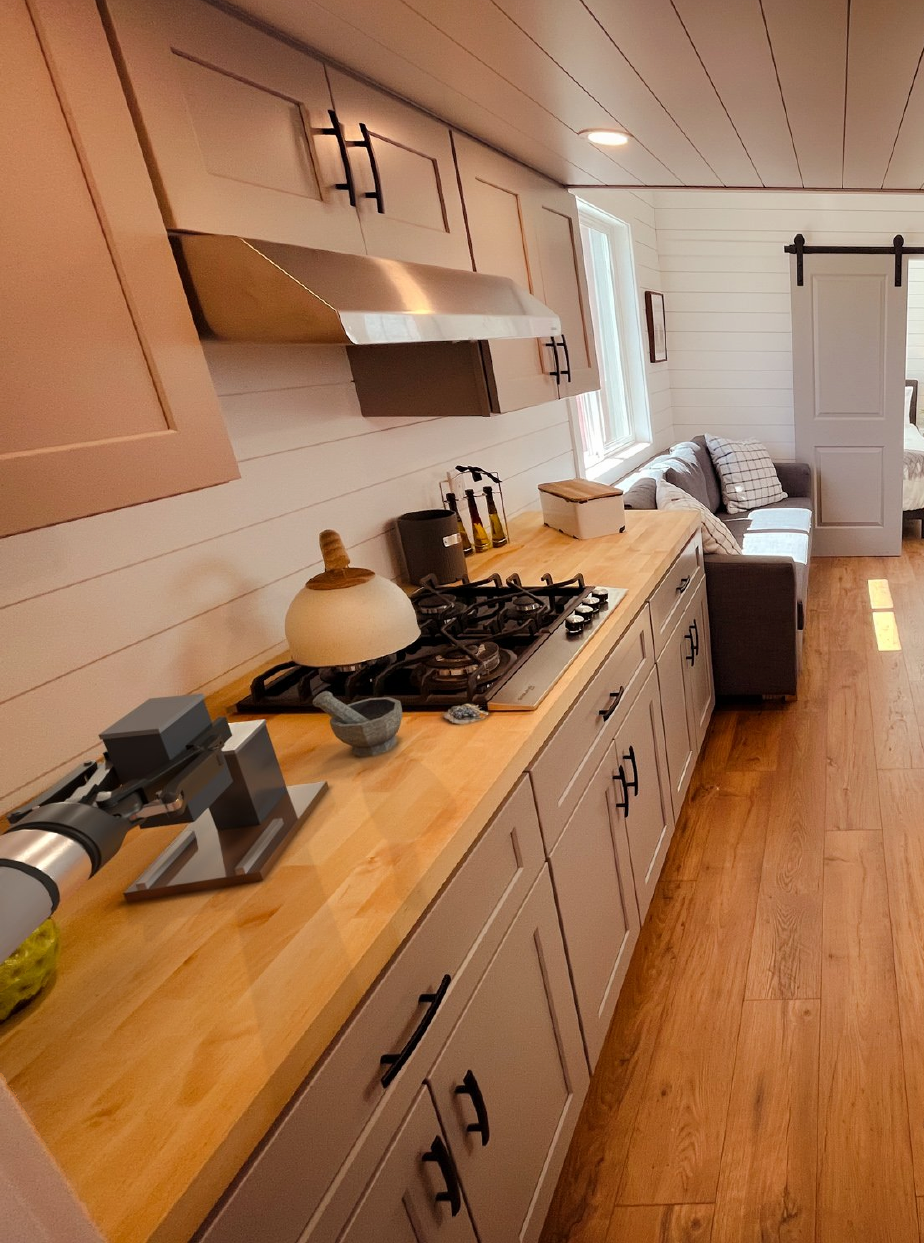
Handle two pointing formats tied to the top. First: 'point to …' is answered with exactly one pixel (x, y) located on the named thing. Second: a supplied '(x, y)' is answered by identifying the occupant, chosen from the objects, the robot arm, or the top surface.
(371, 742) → the mortar and pestle
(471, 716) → the blueberries
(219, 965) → the top surface
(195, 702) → the loose pad
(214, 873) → the pad base
